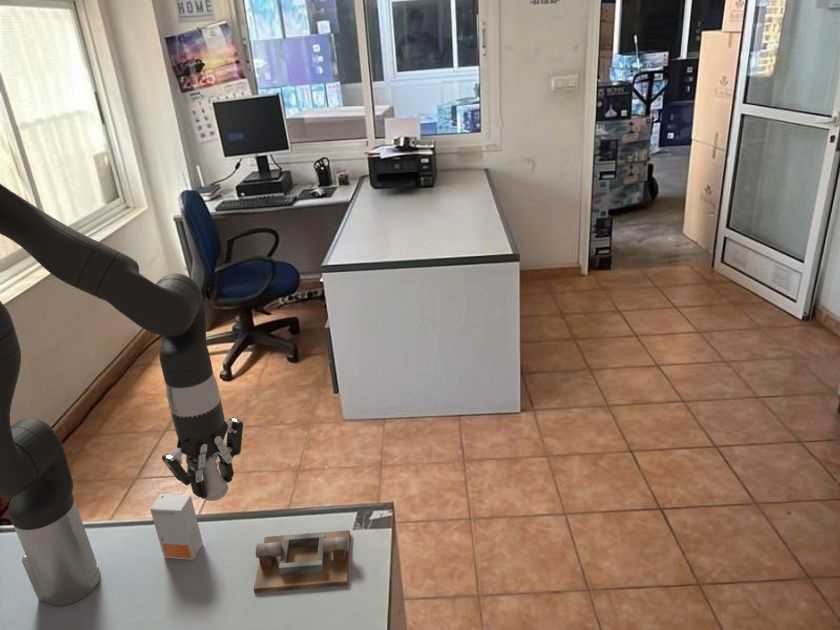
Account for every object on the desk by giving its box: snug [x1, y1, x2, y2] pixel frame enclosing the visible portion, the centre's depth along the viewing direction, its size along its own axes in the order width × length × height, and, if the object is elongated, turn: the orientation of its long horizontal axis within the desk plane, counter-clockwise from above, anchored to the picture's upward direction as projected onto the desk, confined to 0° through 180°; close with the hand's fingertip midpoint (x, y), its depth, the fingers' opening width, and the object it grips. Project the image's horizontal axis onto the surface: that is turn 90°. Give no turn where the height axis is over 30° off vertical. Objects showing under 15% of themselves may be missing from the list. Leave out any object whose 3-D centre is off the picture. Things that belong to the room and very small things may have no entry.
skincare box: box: [149, 493, 203, 561], centre depth 118 cm, size 6×4×12 cm
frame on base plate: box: [253, 529, 351, 594], centre depth 115 cm, size 16×12×5 cm
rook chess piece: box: [202, 453, 229, 502], centre depth 106 cm, size 4×4×8 cm
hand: (214, 487), depth 107 cm, fingers closed on rook chess piece, 4 cm apart
